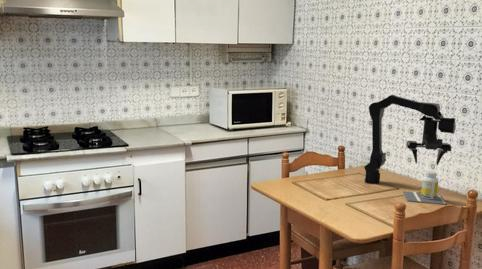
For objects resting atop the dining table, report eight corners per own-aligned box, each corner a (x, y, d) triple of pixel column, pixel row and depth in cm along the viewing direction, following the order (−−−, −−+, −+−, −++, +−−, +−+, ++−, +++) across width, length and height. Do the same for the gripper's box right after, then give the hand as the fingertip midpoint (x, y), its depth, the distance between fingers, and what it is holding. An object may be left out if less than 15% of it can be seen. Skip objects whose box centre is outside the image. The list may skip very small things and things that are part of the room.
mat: (407, 201, 202) (407, 199, 202) (402, 192, 215) (402, 190, 215) (446, 204, 199) (446, 203, 199) (439, 195, 212) (439, 194, 212)
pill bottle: (435, 196, 209) (438, 171, 207) (436, 200, 203) (439, 174, 201) (420, 194, 211) (423, 169, 209) (420, 198, 205) (423, 172, 203)
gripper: (411, 132, 207) (408, 166, 210) (456, 135, 204) (452, 169, 207) (407, 128, 218) (404, 161, 221) (450, 131, 215) (446, 164, 217)
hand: (426, 164), depth 216 cm, fingers open, 9 cm apart
